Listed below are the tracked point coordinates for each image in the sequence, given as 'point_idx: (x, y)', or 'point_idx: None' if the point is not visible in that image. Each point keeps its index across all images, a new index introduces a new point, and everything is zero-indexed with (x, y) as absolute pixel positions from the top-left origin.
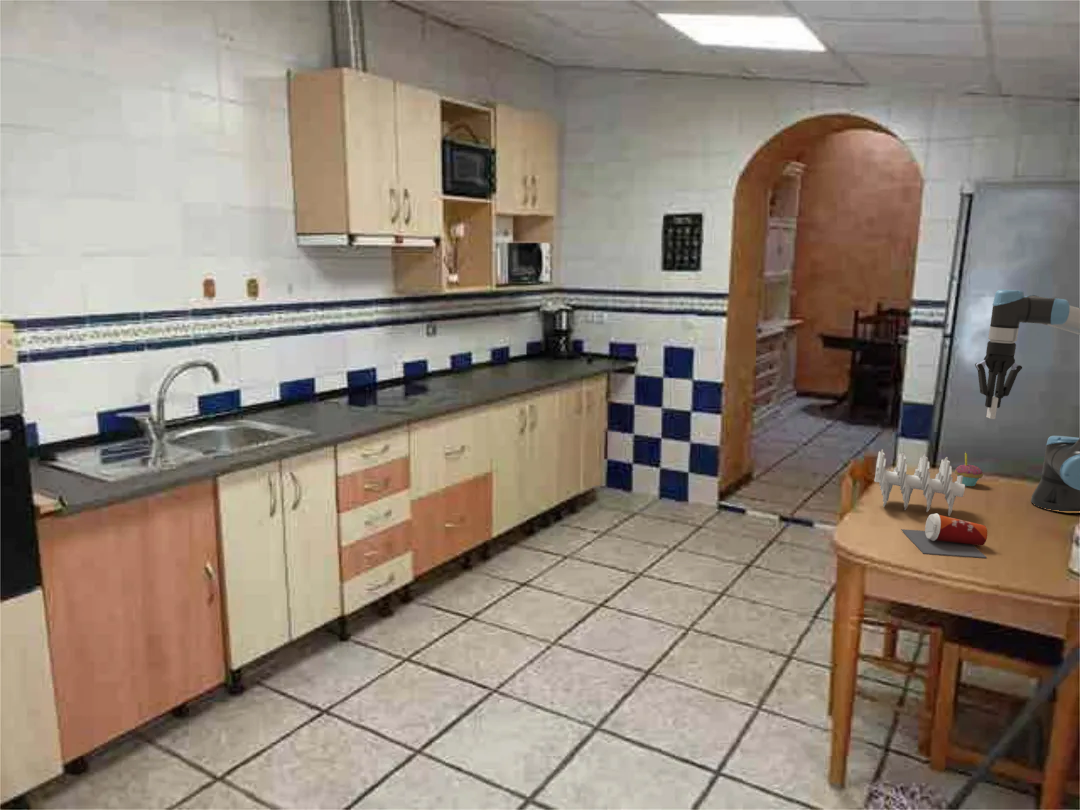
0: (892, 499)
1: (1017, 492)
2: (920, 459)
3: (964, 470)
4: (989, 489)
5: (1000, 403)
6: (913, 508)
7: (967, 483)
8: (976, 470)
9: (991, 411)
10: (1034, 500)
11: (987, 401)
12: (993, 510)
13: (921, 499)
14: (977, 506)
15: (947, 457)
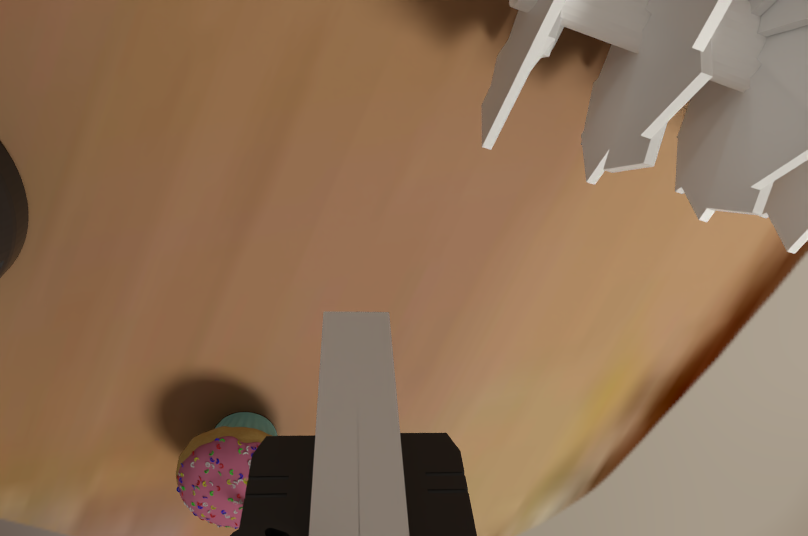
0: None
1: (44, 375)
2: (767, 190)
3: None
4: (165, 392)
5: (246, 491)
6: None
7: (255, 419)
8: (214, 463)
9: (390, 371)
10: (15, 201)
11: (469, 510)
12: (271, 72)
13: (567, 189)
14: (329, 126)
15: (700, 70)
